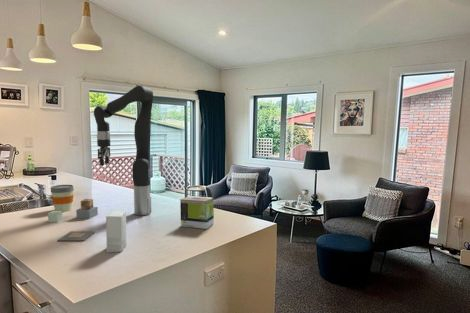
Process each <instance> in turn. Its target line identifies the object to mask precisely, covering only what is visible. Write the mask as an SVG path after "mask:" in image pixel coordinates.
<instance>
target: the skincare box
mask: <svg viewBox="0 0 470 313" xmlns="http://www.w3.org/2000/svg"><path fill="white" fill-rule="evenodd" d="M105 219H106V220H105V227H106V228H105V230H106V231H105V232H106V234H105V235H106V236H105V237H106V253H123V251H124V249H125V248H126V246H127V211H126V210H111V211H110V212H109V213H108V214H107V215H106V216H105Z"/></svg>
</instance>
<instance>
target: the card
mask: <svg viewBox="0 0 470 313" xmlns="http://www.w3.org/2000/svg"><path fill="white" fill-rule="evenodd" d="M95 233H96V231H95V230H94V231H93V230H92V231H91V230H90V231H89V230H88V231H87V230H86V231H83V230H82V231H81V230H79V231H78V230H77V231H69V232H67V233H66V234H64V235H63V236H61V237H60V238H58V239H57V241H56V242H85V241H86V240H88V239H89V238H90V237H92V236H93V235H94V234H95Z"/></svg>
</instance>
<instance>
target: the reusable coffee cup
mask: <svg viewBox="0 0 470 313" xmlns="http://www.w3.org/2000/svg"><path fill="white" fill-rule="evenodd" d="M74 190H75V189H74V185H73V184H58V185H53V186H50V193H51V201H52V204H53V207H54V211H62V213H65V212H69V211H71V210H72V207H73V202H74Z"/></svg>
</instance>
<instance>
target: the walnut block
mask: <svg viewBox="0 0 470 313" xmlns="http://www.w3.org/2000/svg"><path fill="white" fill-rule="evenodd" d="M93 207H94V198H84V199H81V200H80V208H81V210H90V209H92V208H93Z"/></svg>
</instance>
